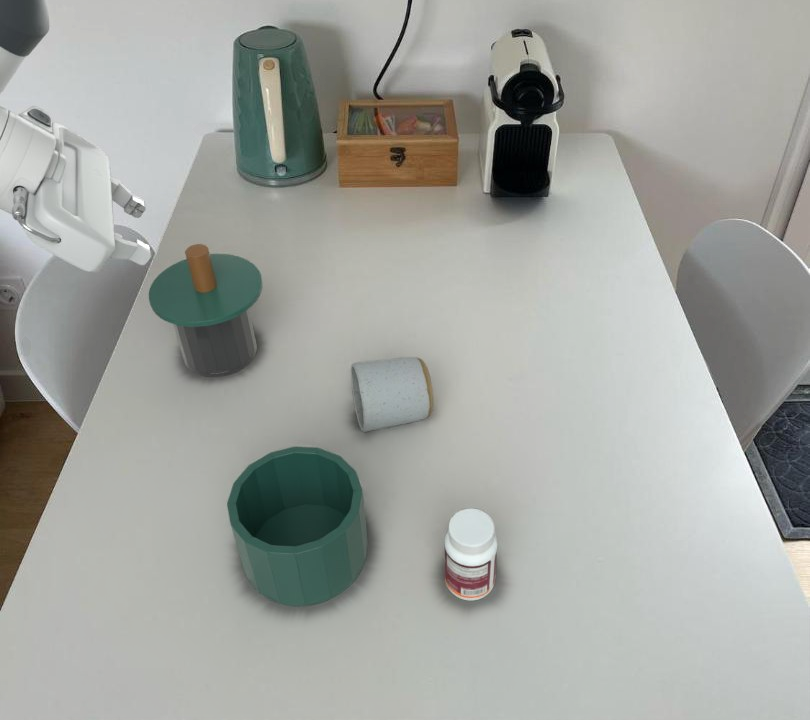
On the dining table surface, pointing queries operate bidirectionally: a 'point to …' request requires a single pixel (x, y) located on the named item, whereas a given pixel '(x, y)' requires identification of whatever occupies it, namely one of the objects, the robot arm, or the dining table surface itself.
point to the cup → (218, 346)
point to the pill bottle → (470, 554)
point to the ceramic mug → (391, 392)
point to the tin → (299, 525)
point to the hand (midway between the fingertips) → (145, 232)
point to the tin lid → (205, 288)
